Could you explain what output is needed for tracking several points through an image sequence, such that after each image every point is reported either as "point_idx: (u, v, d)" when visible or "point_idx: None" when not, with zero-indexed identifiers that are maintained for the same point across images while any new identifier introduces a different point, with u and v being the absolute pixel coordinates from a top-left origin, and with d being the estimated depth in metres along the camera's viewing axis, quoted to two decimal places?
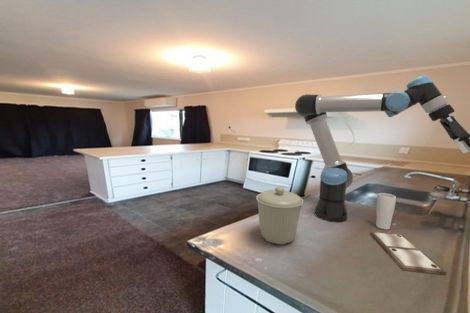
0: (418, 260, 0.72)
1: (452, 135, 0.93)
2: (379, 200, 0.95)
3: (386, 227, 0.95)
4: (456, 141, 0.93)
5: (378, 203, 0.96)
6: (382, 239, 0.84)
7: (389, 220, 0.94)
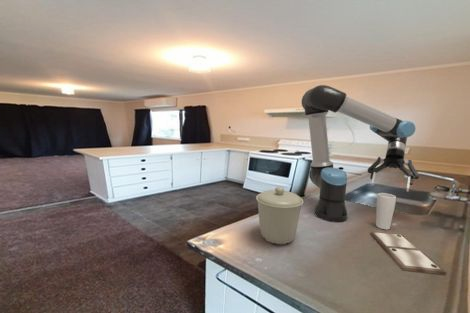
0: (418, 260, 0.72)
1: (378, 169, 1.09)
2: (379, 200, 0.95)
3: (386, 227, 0.95)
4: (375, 174, 1.08)
5: (378, 203, 0.96)
6: (382, 239, 0.84)
7: (389, 220, 0.94)
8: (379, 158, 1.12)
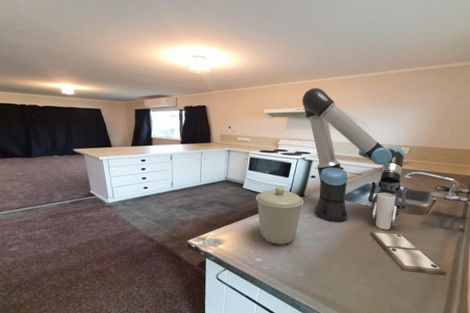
0: (418, 260, 0.72)
1: None
2: (379, 200, 0.95)
3: (386, 227, 0.95)
4: None
5: (378, 203, 0.96)
6: (382, 239, 0.84)
7: (389, 220, 0.94)
8: (374, 183, 1.04)
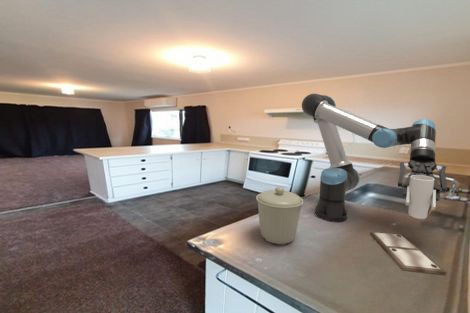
0: (418, 260, 0.72)
1: None
2: (413, 184, 0.78)
3: (423, 216, 0.78)
4: None
5: (412, 188, 0.78)
6: (382, 239, 0.84)
7: (427, 207, 0.77)
8: (402, 164, 0.86)
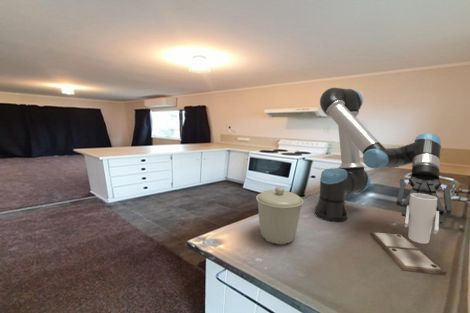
0: (418, 260, 0.72)
1: None
2: (413, 203, 0.69)
3: (424, 240, 0.69)
4: None
5: (412, 207, 0.70)
6: (382, 239, 0.84)
7: (429, 231, 0.68)
8: (403, 180, 0.78)
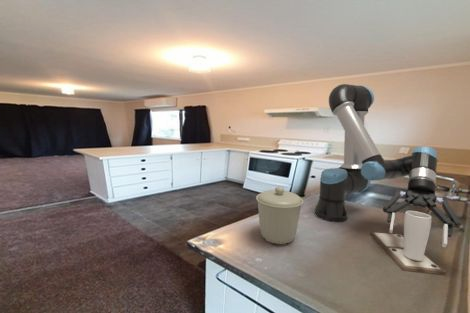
0: None
1: (398, 208, 0.77)
2: (408, 221, 0.71)
3: (419, 258, 0.70)
4: (394, 215, 0.76)
5: (407, 225, 0.72)
6: (382, 239, 0.84)
7: (423, 248, 0.70)
8: (399, 191, 0.80)
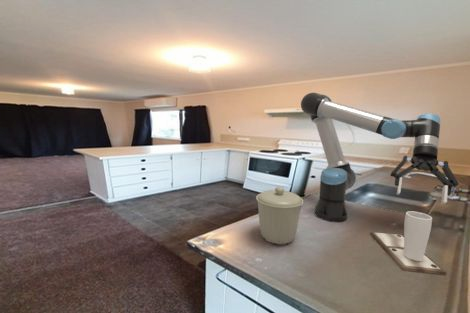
0: None
1: (404, 173, 0.87)
2: (409, 222, 0.71)
3: (419, 258, 0.70)
4: (401, 180, 0.87)
5: (407, 226, 0.71)
6: (382, 239, 0.84)
7: (423, 249, 0.70)
8: (405, 157, 0.89)
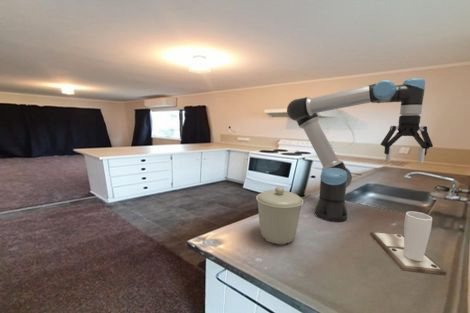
0: None
1: None
2: (409, 222, 0.71)
3: (418, 258, 0.70)
4: None
5: (407, 226, 0.71)
6: (382, 239, 0.84)
7: (423, 249, 0.70)
8: (394, 128, 0.98)
